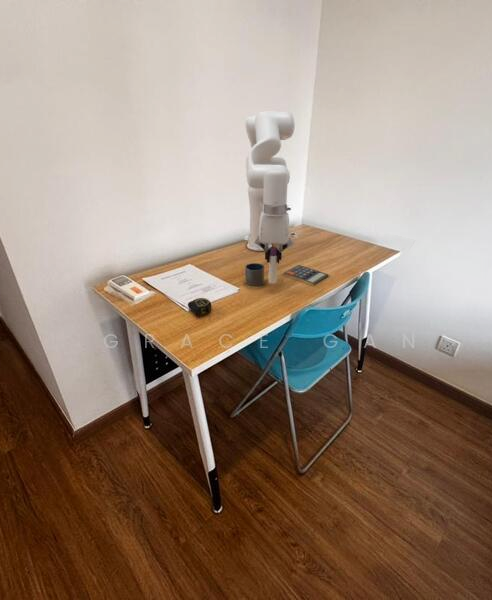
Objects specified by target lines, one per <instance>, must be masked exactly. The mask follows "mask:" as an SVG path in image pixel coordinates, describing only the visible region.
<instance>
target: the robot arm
mask: <svg viewBox="0 0 492 600" xmlns="http://www.w3.org/2000/svg"><path fill="white" fill-rule="evenodd" d="M245 131H246V134H247V138H248V141H249V143H250V150H249V151H248V153H247V155H246V159H245V174H246V182H247V184H248V186H247V196H248V201H249V202H248V205H249V235H245V236H244V241H246V242H247V243H246V247H247V249H249V250H251V251H254V252H264V260H266V263H267V264H269V248H270V247H273V244H275V245H278V257H277V264H280V261H282V259H283V258H282V257H283V255H282V254H283V251H285V250H286V249H287V248H288V247H291V246H293V245H294V242H293V239H292V238H291V236H290V216H289V212H288V211H291V210H292V206H291V205H288V203H287V201H288V184H289V183H290V179H291V178H290V177H291V176H290V171H289V169H288V166H287V162H286V159H284V158H283V157H279V156H276V155H277V154H278V153H279V152H280V151H281V148H282V143H281V141H286V140H289V139H291V138H292V137H293V135H294V133H295V119H294V116H293V114H292V112H290V111H286V110H285V111H284V110H263V111H260V112H259V113H257V115H249V116H248V117H246V119H245Z"/></svg>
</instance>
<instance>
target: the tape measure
mask: <svg viewBox="0 0 492 600" xmlns="http://www.w3.org/2000/svg"><path fill="white" fill-rule="evenodd" d="M187 307H188V309H189V310H190V311H191V312H192V313H193V314H194V315H195V316H196V317H200V316H201V315H202V316H203V315H207V314H209V312H211V310H212V302H211V301H210V299H209V298H205V297H198V298H195V299H193V300H191V301H189V302H188V303H187Z"/></svg>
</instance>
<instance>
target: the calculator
mask: <svg viewBox="0 0 492 600" xmlns="http://www.w3.org/2000/svg"><path fill="white" fill-rule="evenodd" d="M283 274H284V275H286V276H289V277H293V278H295V279H298V280H301V281H304V282H307V283H309V284H312V285H313V286H315V285H317V284H318V283H319V282H321V281H323V280H324V279H326V278H327V277H329V274H328V273H326V272H323V271H319V270H317V269H313V268H310V267H307V266H304V265H301V264H298V265H296V266H294V267H292V268H290V269H288V270H286V271H284V272H283Z"/></svg>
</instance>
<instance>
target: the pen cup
mask: <svg viewBox="0 0 492 600" xmlns="http://www.w3.org/2000/svg"><path fill="white" fill-rule="evenodd" d="M244 278H245V279H244V280H245V285H246V286H248V287H252V288H257V287H258V288H259V287H262V286H263V285H264V284H265V266H264V264H262V263H257V262H250V263H247V264H246V265H245V266H244Z"/></svg>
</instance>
